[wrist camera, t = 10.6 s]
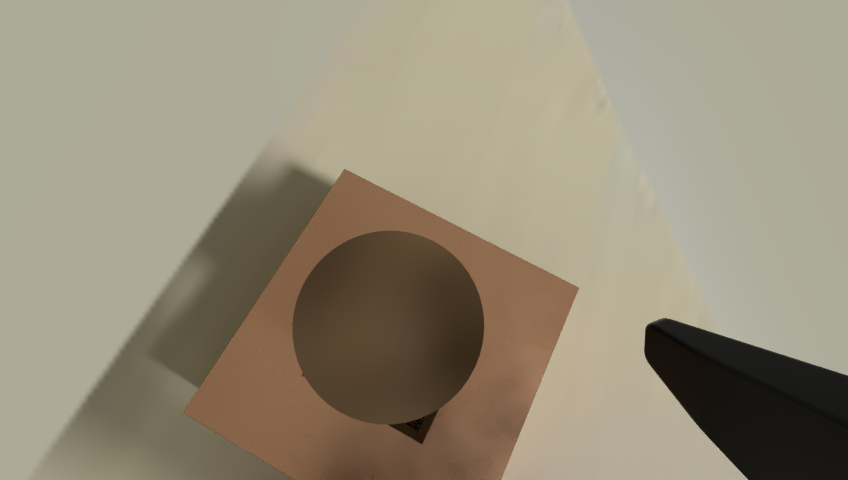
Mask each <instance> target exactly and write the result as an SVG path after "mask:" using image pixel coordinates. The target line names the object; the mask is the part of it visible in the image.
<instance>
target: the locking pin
mask: <svg viewBox="0 0 848 480" xmlns="http://www.w3.org/2000/svg"><path fill="white" fill-rule="evenodd" d="M292 332H293V344H294V350H295V354H296V357H297V361H298V364H299V366H300V368H301V370H302V373H303V375H304V376H305V378H306V380H307V381H308V383H309V384H310V386H311V387H312V388H313V390H314V391H315V392H316V393H317V394H318V396H319V397H321V398H322V399H323V400H324V401H325V402H326V403H327V404H328V405H330V406H331V407H333V408H334V409H336V410H337V411H339V412H340V413H342V414H344V415H347V416H349V417H351V418H353V419H356V420H360V421H363V422H367V423H373V424H399V423H406V422H410V421H413V420H417V419H420V418H422V417H424V416H427V415H429V414H431V413H433V412H434V411H436V410H438V409H439V408H441V407H442V406H444V405H445V404H446V403H448V402H449V401H450V400H451V399H452V398H453V397H454V396H455V395H456V394H457V393H458V392H459V391H460V390H461V389H462V388H463V386H464V385H465V383H466V382H467V381H468V379H469V378H470V376H471V374H472V372H473V370H474V368H475V366H476V364H477V361H478V359H479V356H480V352H481V348H482V344H483V337H484V314H483V307H482V303H481V299H480V296H479V293H478V290H477V288H476V285H475V283H474V281H473V279H472V278H471V276H470V274H469V273H468V271H467V270H466V269H465V267H464V266H463V265H462V263H461V262H460V261H459V260H458V259H457V258H456V257H455V256H454V255H453V254H452V253H450V252H449V251H448V250H447V249H445V248H444V247H443V246H441V245H439V244H438V243H436V242H434V241H432V240H430V239H428V238H426V237H423V236H420V235H417V234H413V233H409V232H403V231H376V232H372V233H367V234H363V235H360V236H357V237H354V238H352V239H350V240H348V241H346V242H344V243H342V244H341V245H339V246H337V247H336V248H334V249H333V250H332V251H330V252H329V253H328V254H327V255H326V256H324V257H323V258H322V259H321V260H320V262H319V263H318V264H317V265H316V266H315V267H314V268H313V270H312V271H311V273H310V274H309V275H308V277H307V279H306V280H305V282H304V284H303V286H302V288H301V290H300V293H299V295H298V298H297V301H296V305H295V309H294V315H293V323H292Z"/></svg>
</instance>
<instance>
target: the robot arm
mask: <svg viewBox="0 0 848 480" xmlns="http://www.w3.org/2000/svg"><path fill="white" fill-rule="evenodd" d="M644 353H645V357H646V359H647V361H648V363H649V364H650V366H651V367H652V368H653V369H654V371H655V372H656V373H657V375H658V376H659V377H660V378H661V380H662V381H663V382H664V384H665V385H666V386H667V387H668V389H669V390H670V391H671V392H672V394H673V395H674V396H675V398H676V399H677V400H678V401H679V403H680V404H681V405H682V407H683V408H684V409H685V410H686V412H687V413H688V414H689V415H690V417H691V418H692V419H693V420H694V422H695V423H696V424H697V425H698V426H699V427H700V429H701V430H702V431H703V432H704V433H705V434H706V435H707V436H708V437H709V438H710V440H711V441H712V442H713V443H714V444H715V445H716V446H717V447H718V448H719V449H720V450H721V451H722V452H723V453H724V454H725V455H726V457H727V458H728V459H729V460H730V461H731V462H732V463H733V464H734V465H735V466H736V467H737V468H738V469H739V470H740V471H741V472H742V474H743V475H744V476H745V477H746V478H747V479H748V480H848V376H847V375H844V374H841V373H838V372H835V371H831V370H828V369H825V368H822V367H819V366H816V365H813V364H810V363H807V362H803V361H800V360H797V359H794V358H790V357H788V356H785V355H781V354H778V353H775V352H772V351H769V350H766V349H763V348H759V347H756V346H753V345H750V344H747V343H743V342H741V341H737V340H734V339H731V338H728V337H725V336H722V335H719V334H715V333H712V332H709V331H706V330H703V329H700V328H697V327H693V326H690V325H687V324H684V323H681V322H678V321H675V320H671V319H667V318H663V319H659V320H657V321H654V322H652V323H649V324H648V325H647V326H646V329H645V347H644Z"/></svg>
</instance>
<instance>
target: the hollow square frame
mask: <svg viewBox="0 0 848 480" xmlns="http://www.w3.org/2000/svg"><path fill="white" fill-rule="evenodd" d="M376 231H403V232H409V233H413V234H417V235H420V236H423V237H426V238H428V239H430V240H432V241H434V242H436V243H438V244H439V245H441V246H443V247H444V248H445V249H447V250H448V251H449V252H450V253H452V254H453V255H454V256H455V257H456V258H457V259H458V260H459V261H460V262H461V263H462V265H463V266H464V267H465V269H466V270H467V271H468V273H469V274H470V276H471V278H472V279H473V281H474V283H475V285H476V288H477V290H478V293H479V296H480V299H481V303H482V307H483V314H484V337H483V344H482V348H481V352H480V356H479V359H478V361H477V364H476V366H475V368H474V370H473V372H472V374H471V376H470V378H469V379H468V381H467V382H466V383H465V385H464V386H463V388H462V389H461V390H460V391H459V392H458V393H457V394H456V395H455V396H454V397H453V398H452V399H451V400H450V401H449V402H448V403H446V404H445V405H444V406H442V407H441V408H439V409H438V410H436V411H434V412H433V413H431V414H429V415H427V416H425V418H424V420H423V422H422V425H421V427H420V429H419V431H417V430H415V429H413V428H412V427H410V426H408V425H406V424H405V423H399V424H373V423H367V422H363V421H360V420H356V419H353V418H351V417H349V416H347V415H344V414H342V413H340V412H339V411H337V410H336V409H334V408H333V407H331V406H330V405H328V404H327V403H326V402H325V401H324V400H323V399H322V398H321V397H319V396H318V394H317V393H316V392H315V391H314V390H313V388H312V387H311V386H310V384H309V383H308V381H307V380H306V378H305V376H304V375H303V373H302V370H301V368H300V366H299V364H298V361H297V357H296V354H295V350H294V344H293V332H292V323H293V315H294V309H295V305H296V301H297V298H298V295H299V293H300V290H301V288H302V286H303V284H304V282H305V280H306V279H307V277H308V275H309V274H310V273H311V271H312V270H313V268H314V267H315V266H316V265H317V264H318V263H319V262H320V260H321V259H322V258H323V257H324V256H326V255H327V254H328V253H329V252H330V251H332V250H333V249H334V248H336V247H337V246H339V245H341V244H342V243H344V242H346V241H348V240H350V239H352V238H354V237H357V236H360V235H363V234H367V233H372V232H376ZM578 289H579V288H578V287H576V286H574V285H572V284H570V283H569V282H567V281H565V280H563V279H561V278H559V277H557V276H555V275H553V274H551V273H549V272H547V271H545V270H543V269H541V268H539V267H537V266H535V265H533V264H531V263H529V262H527V261H525V260H523V259H521V258H519V257H517V256H515V255H513V254H511V253H509V252H507V251H505V250H503V249H501V248H499V247H497V246H496V245H494V244H492V243H490V242H488V241H486V240H484V239H482V238H480V237H478V236H476V235H474V234H472V233H470V232H468V231H466V230H464V229H462V228H460V227H458V226H456V225H454V224H452V223H450V222H448V221H446V220H444V219H442V218H440V217H438V216H436V215H434V214H432V213H430V212H428V211H426V210H424V209H423V208H421V207H419V206H417V205H415V204H413V203H411V202H409V201H407V200H405V199H403V198H401V197H399V196H397V195H395V194H393V193H391V192H389V191H387V190H385V189H383V188H381V187H379V186H377V185H375V184H373V183H371V182H369V181H367V180H365V179H363V178H361V177H359V176H357V175H355V174H353V173H352V172H350V171H348V170H346V169H344V170H343V172H342V173H341V175H340V176H339V178H338V179H337V181H336V182H335V184H334V185H333V187H332V188H331V190H330V191H329V193H328V194H327V196H326V198H325V199H324V201H323V202H322V204H321V205H320V207H319V208H318V210H317V211H316V213H315V214H314V216H313V217H312V219H311V220H310V222H309V223H308V225H307V226H306V228H305V229H304V231H303V232H302V234H301V235H300V237H299V238H298V240H297V241H296V243H295V244H294V246H293V247H292V249H291V250H290V252H289V253H288V255H287V256H286V258H285V259H284V261H283V262H282V264H281V265H280V267H279V268H278V270H277V271H276V273H275V274H274V276H273V277H272V279H271V281H270V282H269V284H268V285H267V287H266V288H265V290H264V291H263V293H262V294H261V296H260V297H259V299H258V300H257V302H256V303H255V305H254V306H253V308H252V309H251V311H250V312H249V314H248V315H247V317H246V318H245V320H244V321H243V323H242V324H241V326H240V327H239V329H238V330H237V332H236V333H235V335H234V336H233V338H232V339H231V341H230V342H229V344H228V345H227V347H226V348H225V350H224V351H223V353H222V354H221V356H220V357H219V359H218V361H217V362H216V364H215V365H214V367H213V368H212V370H211V371H210V373H209V374H208V376H207V377H206V379H205V380H204V382H203V383H202V385H201V386H200V388H199V389H198V391H197V392H196V394H195V395H194V397H193V398H192V400H191V401H190V403H189V404H188V406H187V407H186V409H185V410H184V412H183V413H184V414H186V415H188V416H189V417H191V418H193V419H194V420H196V421H198V422H199V423H201V424H203V425H204V426H206V427H208V428H209V429H211V430H213V431H214V432H216V433H218V434H219V435H221V436H223V437H224V438H226V439H228V440H229V441H231V442H233V443H234V444H236V445H238V446H239V447H241V448H243V449H244V450H246V451H248V452H249V453H251V454H253V455H254V456H256V457H258V458H259V459H261V460H262V461H264V462H266V463H267V464H269V465H271V466H272V467H274V468H276V469H277V470H279V471H281V472H282V473H284V474H286V475H287V476H289V477H291V478H292V479H294V480H501V478H502V476H503V473H504V471H505V468H506V466H507V464H508V461H509V459H510V456H511V454H512V451H513V449H514V446H515V444H516V441H517V439H518V436H519V434H520V432H521V429H522V427H523V424H524V422H525V419H526V417H527V414H528V412H529V409H530V407H531V405H532V402H533V400H534V397H535V395H536V392H537V390H538V387H539V385H540V382H541V380H542V377H543V375H544V373H545V370H546V368H547V365H548V363H549V360H550V358H551V355H552V353H553V350H554V348H555V346H556V343H557V341H558V338H559V336H560V333H561V331H562V328H563V326H564V323H565V321H566V318H567V316H568V314H569V311H570V309H571V306H572V304H573V301H574V299H575V296H576V294H577V291H578Z"/></svg>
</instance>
